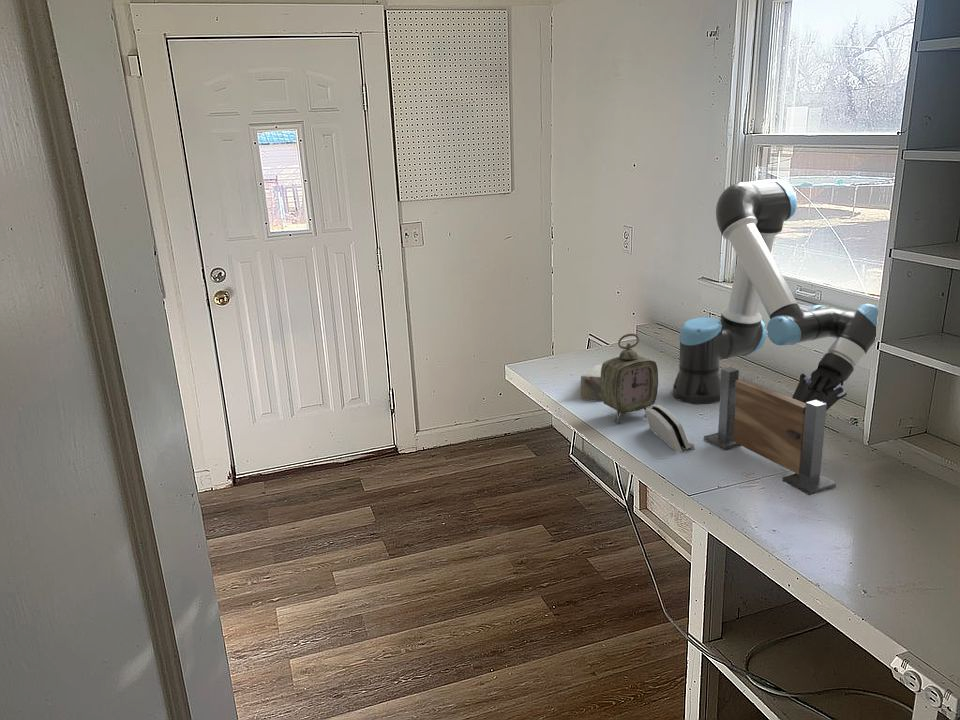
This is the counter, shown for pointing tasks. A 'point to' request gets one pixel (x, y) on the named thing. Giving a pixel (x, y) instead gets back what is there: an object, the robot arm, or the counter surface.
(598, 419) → the counter surface
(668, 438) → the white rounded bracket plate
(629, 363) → the tabletop clock
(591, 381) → the block
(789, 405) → the gate leaf
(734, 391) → the gate frame
